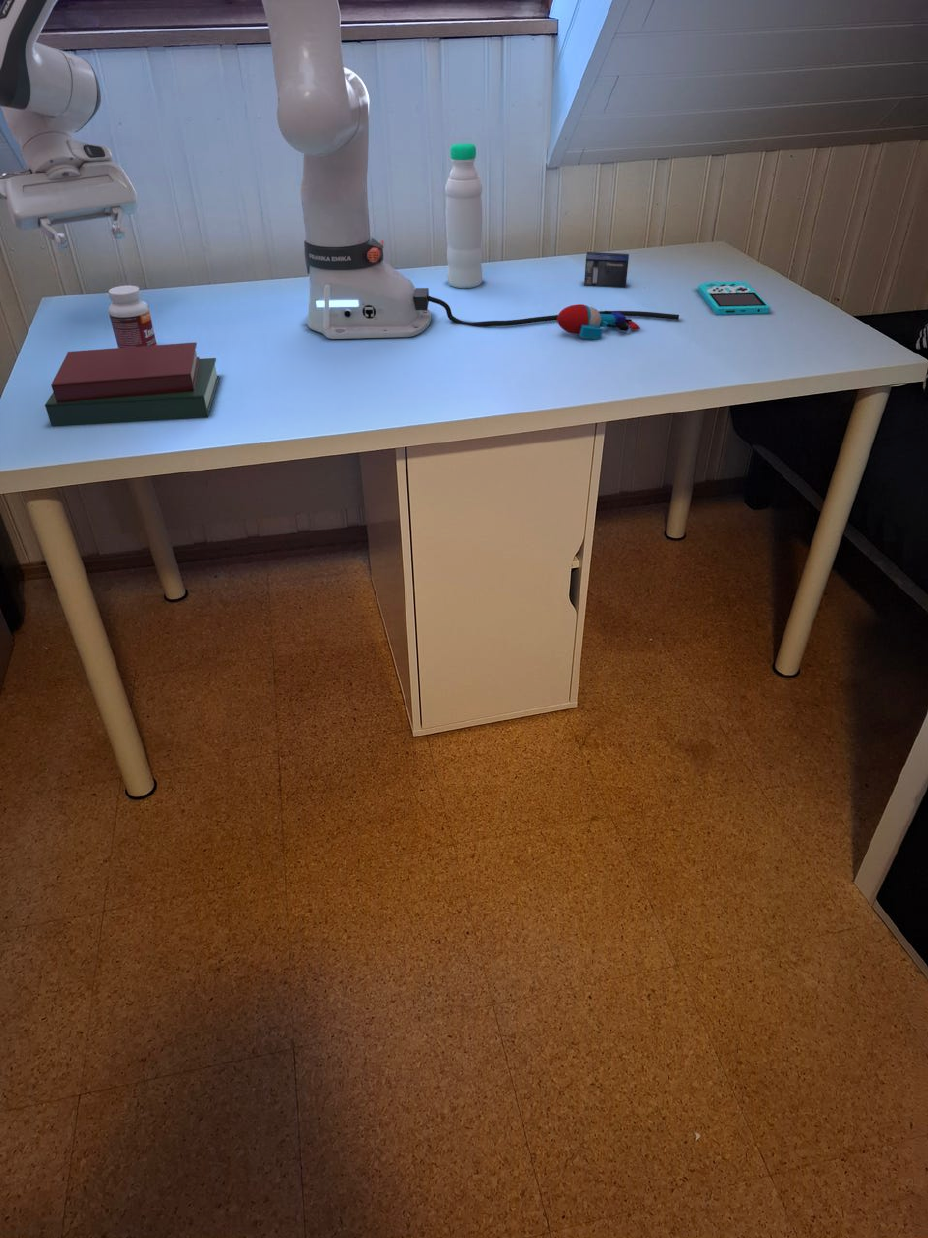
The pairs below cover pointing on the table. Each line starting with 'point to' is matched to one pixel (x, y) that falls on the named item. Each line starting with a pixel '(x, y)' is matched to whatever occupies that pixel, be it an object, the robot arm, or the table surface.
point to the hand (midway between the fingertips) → (91, 241)
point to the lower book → (140, 404)
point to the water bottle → (464, 219)
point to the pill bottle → (130, 318)
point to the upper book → (126, 372)
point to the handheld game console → (732, 298)
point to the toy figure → (591, 321)
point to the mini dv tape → (606, 269)
